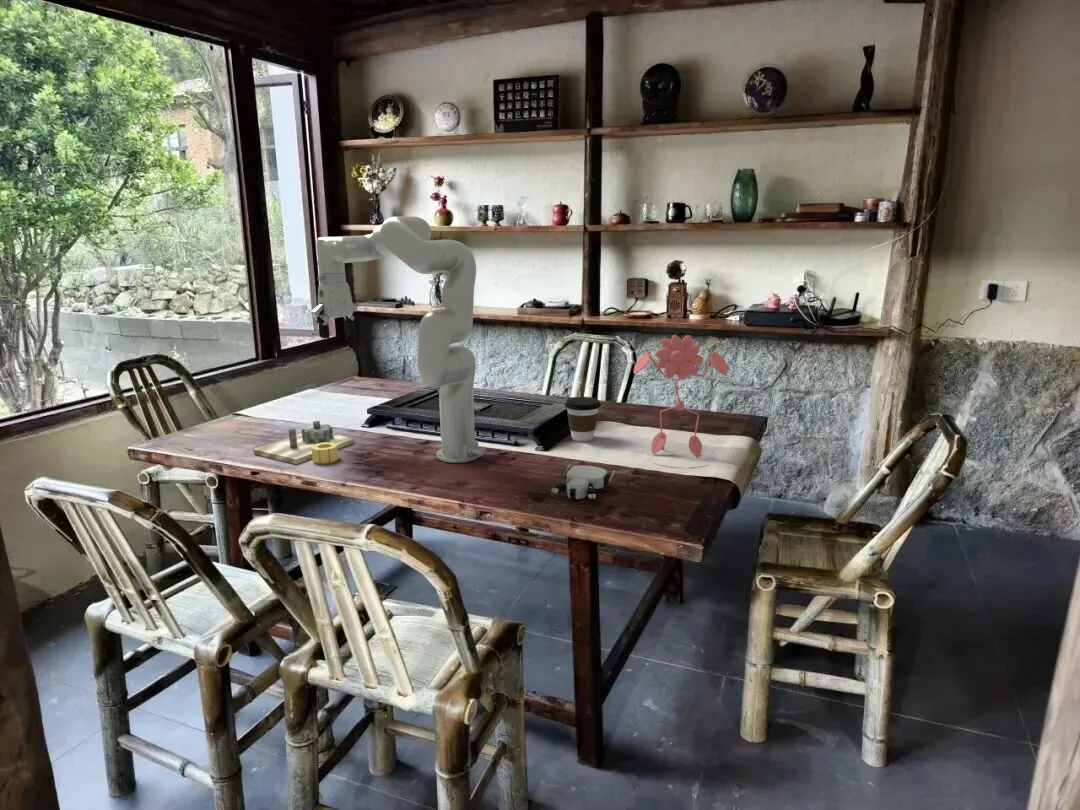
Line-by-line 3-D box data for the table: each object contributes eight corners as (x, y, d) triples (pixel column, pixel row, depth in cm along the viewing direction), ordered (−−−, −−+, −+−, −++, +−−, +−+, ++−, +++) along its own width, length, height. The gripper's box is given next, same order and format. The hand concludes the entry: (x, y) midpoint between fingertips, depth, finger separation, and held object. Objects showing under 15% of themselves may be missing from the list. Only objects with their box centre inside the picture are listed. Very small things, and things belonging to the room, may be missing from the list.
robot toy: (596, 509, 163) (615, 483, 176) (596, 492, 162) (615, 467, 175) (548, 502, 168) (570, 477, 181) (547, 485, 167) (570, 461, 179)
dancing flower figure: (635, 445, 206) (638, 328, 196) (724, 455, 197) (732, 333, 187) (621, 463, 192) (624, 338, 182) (717, 474, 183) (724, 343, 173)
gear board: (354, 443, 211) (352, 420, 209) (296, 464, 193) (293, 440, 191) (313, 434, 220) (311, 413, 218) (253, 454, 202) (251, 431, 200)
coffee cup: (580, 446, 206) (580, 407, 203) (557, 437, 214) (557, 399, 211) (607, 439, 212) (608, 401, 209) (584, 431, 221) (585, 394, 218)
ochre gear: (343, 458, 198) (342, 444, 197) (324, 465, 192) (323, 451, 191) (326, 454, 201) (325, 441, 200) (307, 461, 195) (306, 447, 194)
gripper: (318, 281, 199) (324, 340, 204) (362, 277, 214) (366, 332, 218) (301, 280, 203) (306, 338, 208) (345, 276, 217) (349, 331, 222)
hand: (337, 335), depth 213 cm, fingers open, 9 cm apart
